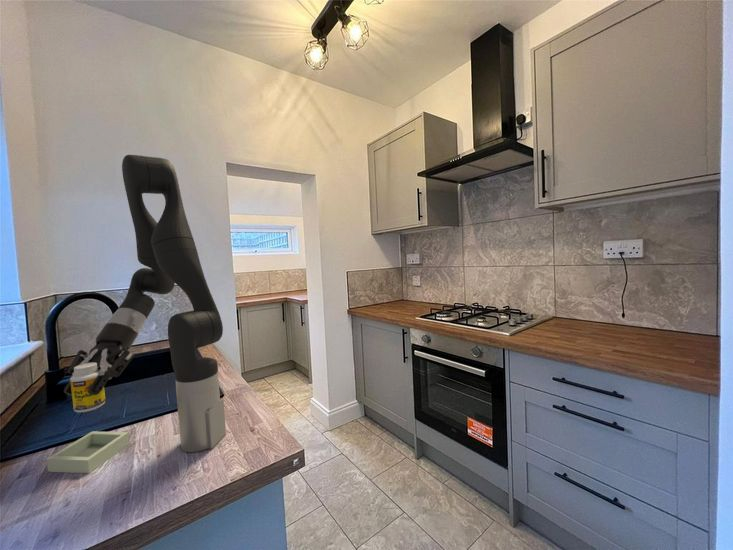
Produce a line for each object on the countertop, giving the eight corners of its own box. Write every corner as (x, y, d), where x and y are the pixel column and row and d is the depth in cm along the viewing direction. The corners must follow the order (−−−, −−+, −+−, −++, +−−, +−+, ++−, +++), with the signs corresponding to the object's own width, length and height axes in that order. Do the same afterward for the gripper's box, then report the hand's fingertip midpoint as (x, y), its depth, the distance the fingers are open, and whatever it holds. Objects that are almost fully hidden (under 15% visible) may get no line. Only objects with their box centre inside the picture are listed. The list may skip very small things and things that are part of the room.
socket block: (129, 443, 75) (128, 432, 74) (89, 473, 65) (87, 460, 64) (93, 442, 75) (92, 431, 75) (48, 471, 66) (46, 458, 65)
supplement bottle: (70, 416, 66) (65, 372, 65) (77, 406, 71) (72, 364, 70) (103, 408, 69) (98, 365, 68) (108, 399, 74) (103, 359, 73)
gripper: (86, 322, 77) (37, 387, 66) (137, 321, 75) (95, 388, 64) (108, 336, 82) (66, 398, 71) (156, 335, 81) (120, 399, 70)
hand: (80, 393), depth 68 cm, fingers closed on supplement bottle, 5 cm apart
